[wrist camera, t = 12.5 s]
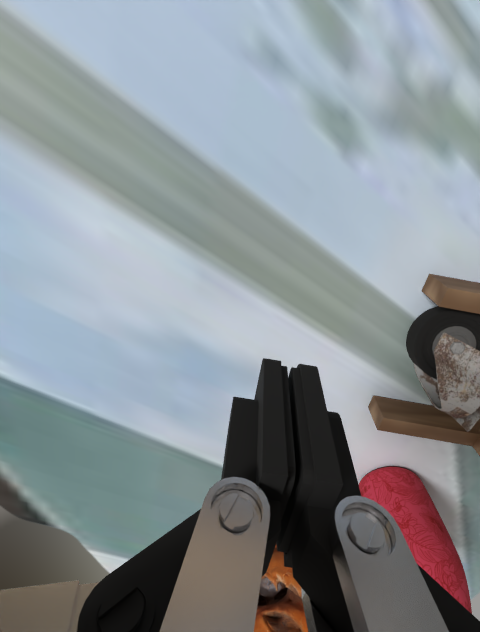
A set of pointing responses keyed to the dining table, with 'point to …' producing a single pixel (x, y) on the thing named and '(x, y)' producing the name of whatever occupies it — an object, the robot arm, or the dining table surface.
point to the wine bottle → (419, 526)
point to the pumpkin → (279, 599)
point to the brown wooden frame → (427, 417)
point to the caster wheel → (448, 361)
